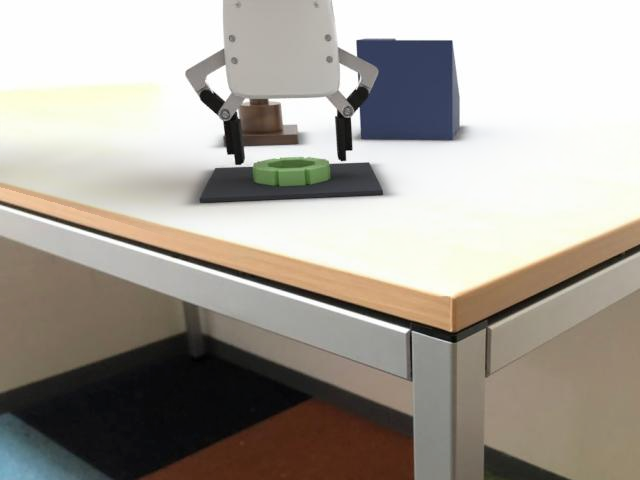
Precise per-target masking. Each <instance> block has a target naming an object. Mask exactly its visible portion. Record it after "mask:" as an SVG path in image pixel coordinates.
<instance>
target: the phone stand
mask: <svg viewBox="0 0 640 480" xmlns="http://www.w3.org/2000/svg"><path fill="white" fill-rule="evenodd" d="M355 42H356V43H355V46H356V57H358V58H360V59H362V60H364V61H366V62H368V63H370V64H372V65H374V66H375V67H377V69H378V75H377V78H376V80H375V82H374V84H373V87H372V89H371V91H370V93H369V96H368V98H367V99H366V100H365V101H364V103H363V104H362V105H361V106H360V107H359V124H360V127H359V128H360V140H410V141H411V140H417V141H420V140H421V141H422V140H423V141H425V140H426V141H453V140H454V138H455V137H456V134H457V133H458V131H459V129H460V125H461V123H460V122H461V120H460V117H461V116H460V115H461V114H460V113H461V110H460V109H461V105H460V104H461V103H460V102H461V101H460V98H461V97H460V90H459V82H458V81H459V80H458V75H457V74H458V73H457V66H456V58H455V49H454V42H453V40H452V39H396V38H361V39H356V40H355ZM359 80H360V74H359V73H358V72H357V84H358V83H359Z"/></svg>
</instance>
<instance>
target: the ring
mask: <svg viewBox="0 0 640 480" xmlns="http://www.w3.org/2000/svg"><path fill="white" fill-rule="evenodd" d="M329 164H330V161H329V160H328V159H326V158H319V157H311V156H307V157H305V156H288V157H279V158H269V159H265V160H260V161H256V162H253V165H252V167H253V177H254V182H256V183H259V184H265V185H271V186H276V185H279V186H302V185H306V184H310V185H311V184H315V183H319V182H323V181H327V180H328V179H330V165H329Z"/></svg>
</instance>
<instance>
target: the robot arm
mask: <svg viewBox="0 0 640 480" xmlns="http://www.w3.org/2000/svg"><path fill="white" fill-rule="evenodd" d="M222 31H223V33H222V34H223V35H222V36H223V48H222V49H220V50H218V51H216V52H215V53H213V54H211V55H210V56H207V58H205V59H203V60H201V61H200V62H198V63H196V64H194V65H193V66H191V67H189V68H187V69H186V70H185V72H184V73H185V78H186V79H187V81H188V83H189V84H190V86H191V87H192V89H193V90H194V92H195V93H196V94H197V96H198V97H199V99H200V101H201V103H203V104H204V105H205V106H206V107H207V108H209V110H211V111H212V112H213V113H214V114H215V115H217V116H218V117H219V120H221V121H222V122H223V123H222V124H223V131H224V135H225V141H226V146H225V147H226V148H225V149H226V154H227V156H231V155H233V158H234V164H235V166H241V165H242V164H244V162H245V160H246V159H245V158H246V155H245V146H244V145H243V136H242V127H241V119H239V115H238V108H239V107H240V105H241V104H242V103H244V102H245V100H246V99H247V100H249V99H269V100H273V99H275V100H276V99H277V100H278V99H314V98H315V99H316V98H326V99H327V100H328V101H329V102H330V103H331V104H332V105H333V106H334V108H335V109H336V115H335V116H334V123H335V124H334V125H335V140H336V155H337V159H338V160H339V161H340V162H347V152H349V151H350V152H351V151H353V132H352V129H353V128H352V117H353V116H354V114H355V113H356V112H357V111H358V109H360V106H361V105H362V104H363V103H364V101H365V100H366V99H367V98H368V96H369V93H370V91H371V89H372V87H373V84H374V82H375V80H376V78H377V75H378V69H377V67H375V66H374V65H372V64H370V63H368V62H366V61H364V60H362V59H360V58H358V57H357V55H355V54H352V52H350V51H347V50H345V49H344V48H341V47H339V46H338V45H339V43H338V35H337V26H336V19H335V14H334V7H333V0H222ZM340 65H342V66H344V67H347V68H348V69H350V70H352V71H354V72H356V73H357V74H358V73H359V74H360V80H359V83H358V82H357V86H356V87H355V88H354V90H352V92H351V93H350V94H349V95H348V96H347V98H346V97H345V96H344V95H343V93H342V92H341V91H340V90H339V89H340V85H341V84H340V83H341V66H340ZM224 66H225V73H226V81H227V85H228V89H229V92H231V93H230V94H229V95H228V97H227V99H226V100H224V98H222V97H221V96H220V95H219V94H217V93H216V92H215V91H214V90H213V89H212V88H211V86H210V84H209V82H208V81H207V80H208V79H207V77H208V75H210V74H212V73H214V72H215V71H218V70H219V69H220V68H222V67H224Z"/></svg>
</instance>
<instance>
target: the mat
mask: <svg viewBox="0 0 640 480" xmlns="http://www.w3.org/2000/svg"><path fill="white" fill-rule="evenodd" d="M329 165H330V179H328V180H327V181H323V182H319V183H315V184H311V185H310V184H306V185H302V186H279V185H276V186H271V185H265V184H259V183H256V182H254V177H253V166H234V167H233V166H232V167H231V166H230V167H229V166H228V167H215V168H214V169H213V172H212V173H211V175H210V177H209V179H208V181H207V183H206V185H205V187H204V189H203V190H202V193H201V195H200V196H199V203H221V202H222V203H223V202H244V201H265V200H267V201H268V200H290V199H312V198H314V199H315V198H333V197H334V198H335V197H356V196H378V195H380V196H381V195H384V190H383V188H382V186H381V184H380V182H379V179H378V177H377V176H376V174H375V172H374V169H373V168H372V166H371V165H372V164H371V163H370V161H367V162H366V161H365V162H342V163H341V162H339V163H338V162H337V163H329Z"/></svg>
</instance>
